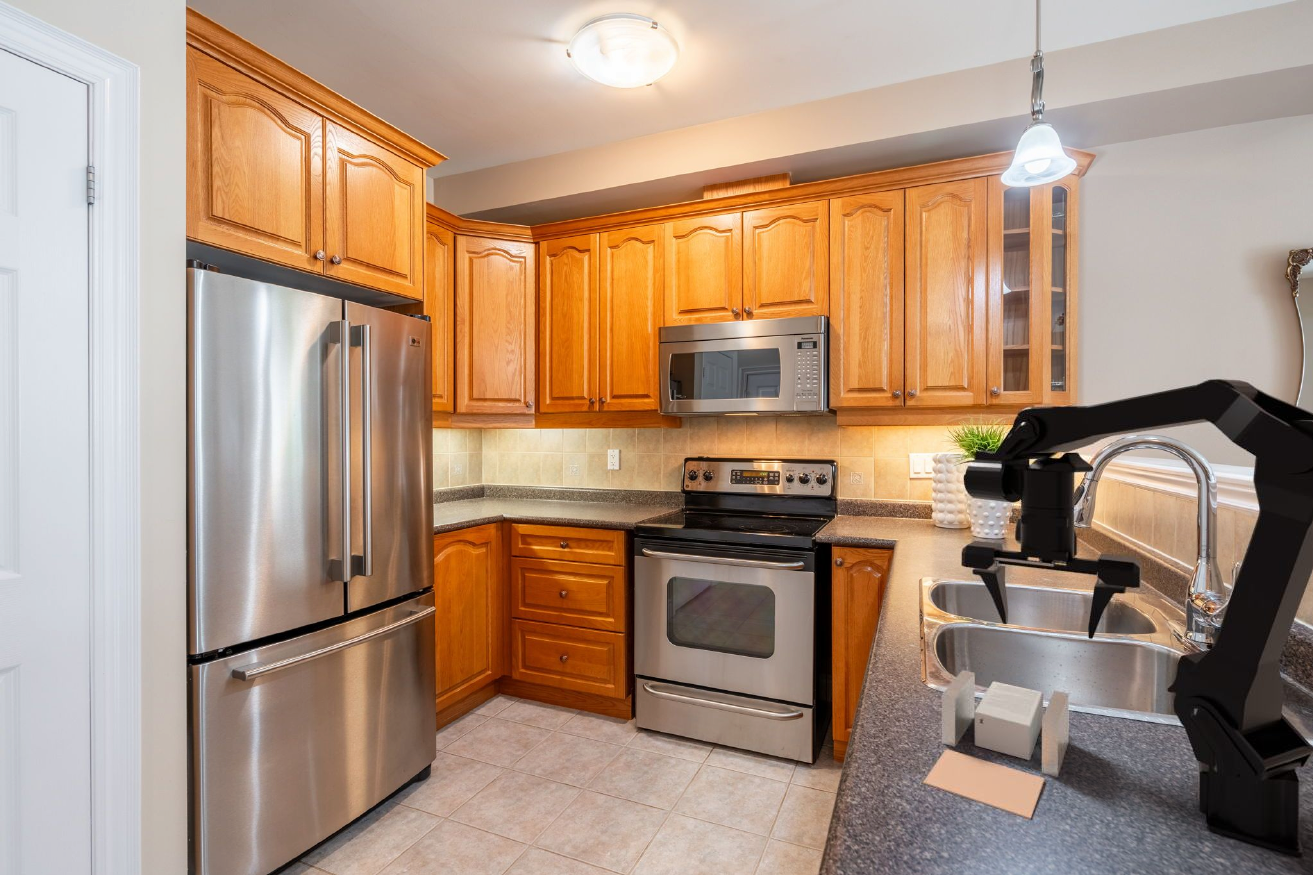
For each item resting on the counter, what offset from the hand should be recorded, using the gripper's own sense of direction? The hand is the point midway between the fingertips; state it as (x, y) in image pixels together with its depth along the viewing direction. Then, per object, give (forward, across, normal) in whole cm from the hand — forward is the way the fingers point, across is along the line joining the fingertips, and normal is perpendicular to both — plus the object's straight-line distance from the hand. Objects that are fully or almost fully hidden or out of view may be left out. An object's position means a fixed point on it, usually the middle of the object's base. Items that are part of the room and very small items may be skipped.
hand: (1046, 630), depth 79 cm
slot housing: (+13, +4, +6) cm, 15 cm away
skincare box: (+11, +4, -3) cm, 12 cm away
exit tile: (+13, +4, +18) cm, 22 cm away
